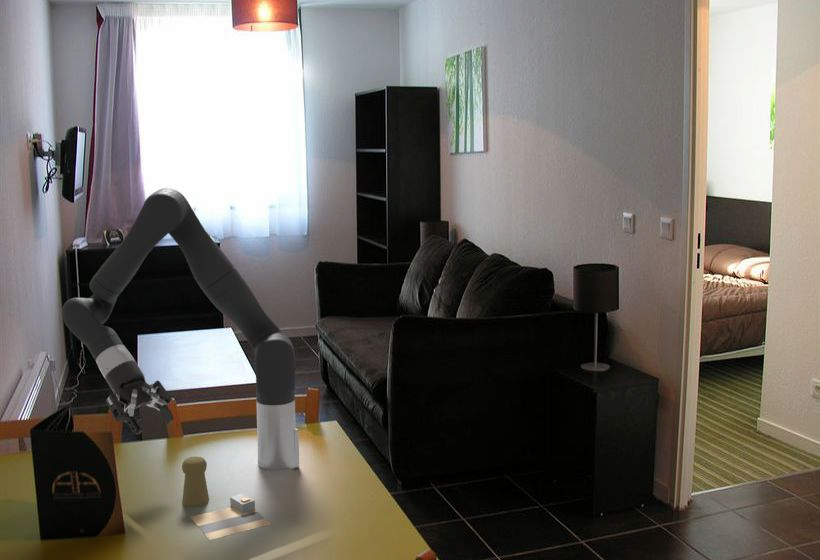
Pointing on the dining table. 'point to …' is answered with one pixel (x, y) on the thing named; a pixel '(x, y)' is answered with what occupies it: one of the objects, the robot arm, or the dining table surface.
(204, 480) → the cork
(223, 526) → the plywood board
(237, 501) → the block
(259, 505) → the dining table surface
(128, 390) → the robot arm
